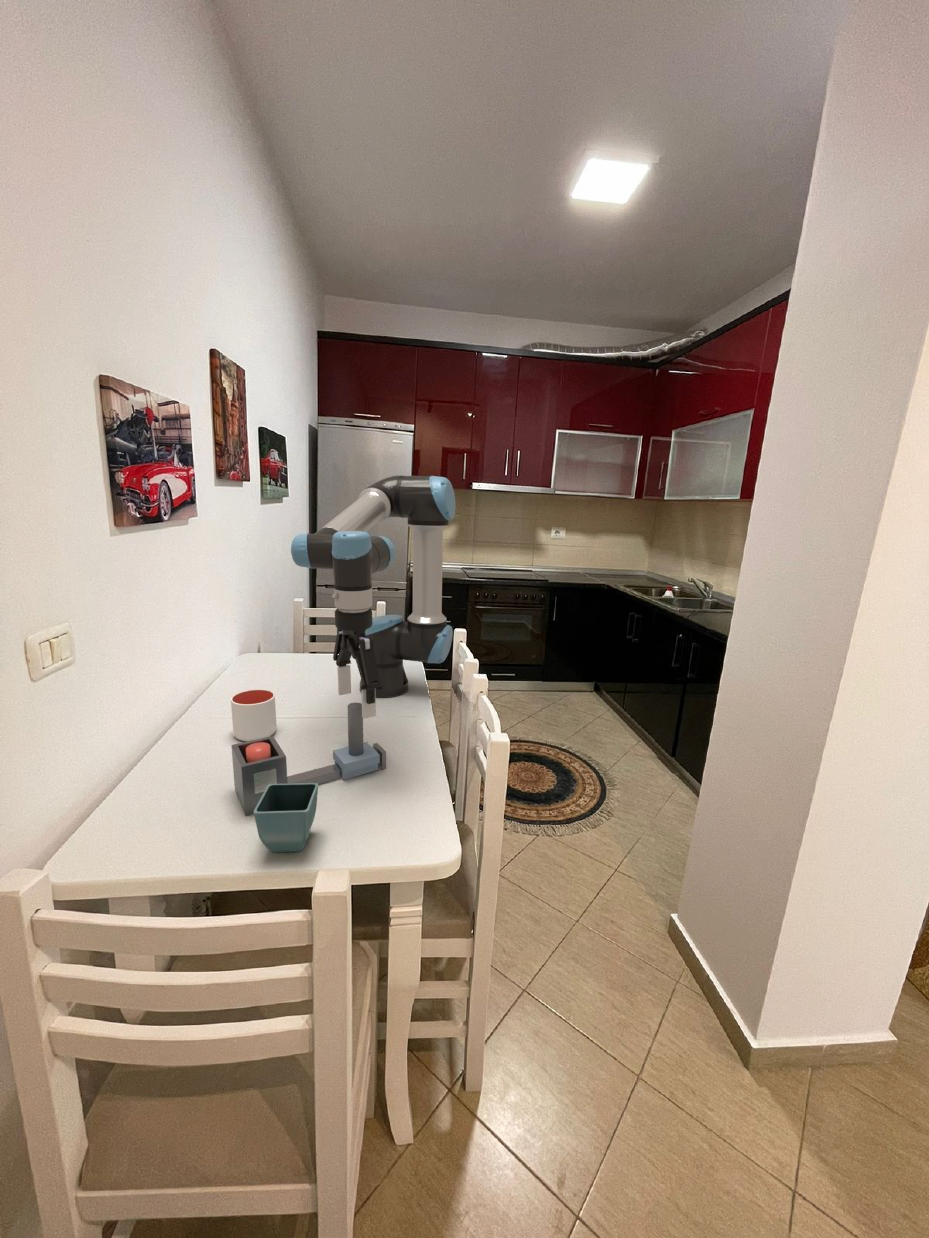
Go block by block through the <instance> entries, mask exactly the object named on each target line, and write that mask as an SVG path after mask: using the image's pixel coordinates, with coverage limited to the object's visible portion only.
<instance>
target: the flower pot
mask: <svg viewBox="0 0 929 1238" xmlns="http://www.w3.org/2000/svg"><path fill="white" fill-rule="evenodd" d="M318 792H319V785H318V783H294V784H269V785H268V786H267V787H266V789H265V791H264V793H263V795H262V797H261V799H260V800H259V802H258V804H257V806H256V807H255V809H254V812H253V813H252V814H253V817H254V821H255V826H256V829H257V834H258V837H259V840H260V841H261V843H262V845H264V846H265V848H266V849H268V850H269V851H270V852H271V853H284V852H285V853H286V852H290V853H291V852H301V851H302V850H303V849H304V848H305V846H306V843H307V840H308V837H309V835H310V831H311V828H312V826H313V823H314V820H315V818H316V817H315V816H316V812H317V805H318V794H319V793H318Z"/></svg>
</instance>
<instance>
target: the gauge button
mask: <svg viewBox="0 0 929 1238" xmlns="http://www.w3.org/2000/svg"><path fill="white" fill-rule="evenodd" d="M267 758H271V753H270V745H269V744H268V743H264V742H259V743H254V744H251V745H249V746H248V747H247V748H246V760H247V763H250V762H254V761H258V760H262V759H267Z"/></svg>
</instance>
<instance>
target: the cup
mask: <svg viewBox="0 0 929 1238" xmlns="http://www.w3.org/2000/svg"><path fill="white" fill-rule="evenodd" d="M230 706H231V707H230V708H231V719H232V720H231V721H232V730H233V731H232V733H233V736H234V737H235V738H236V739H237V740H239V741H243V742H247V741H252V740H256V739H261V738H266V737H270V736H274V733H275V732H277V728H278V727H277V711H276V710H277V709H276V695H275V693H274V692H273V691H271V690H267V689H250V690H245V691H241V692H239V693H236V694H235V695H232V696H231V698H230Z"/></svg>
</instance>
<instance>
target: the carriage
mask: <svg viewBox="0 0 929 1238" xmlns="http://www.w3.org/2000/svg"><path fill="white" fill-rule="evenodd" d="M347 736H348V737H347V739H348V740H347V744H348V746H344V747H340V748H337V749H333V750H332V760H334V761H333V763H334V764H338V765H339V767H340V768H341V769H342V778H341V779H342V780H347V779H350V778H355V777H357V776H360V775H363V774H367V773H372V772H375V771H378V770H379V766H378V764H379V763H380V755H379V754H378V753H377V752H376V751H375V750H374V749H373V746H371V744H369V743H368V742H367V741H366V742H365V741H364V719H363V718H362V702H352V703H349V704H347Z"/></svg>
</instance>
